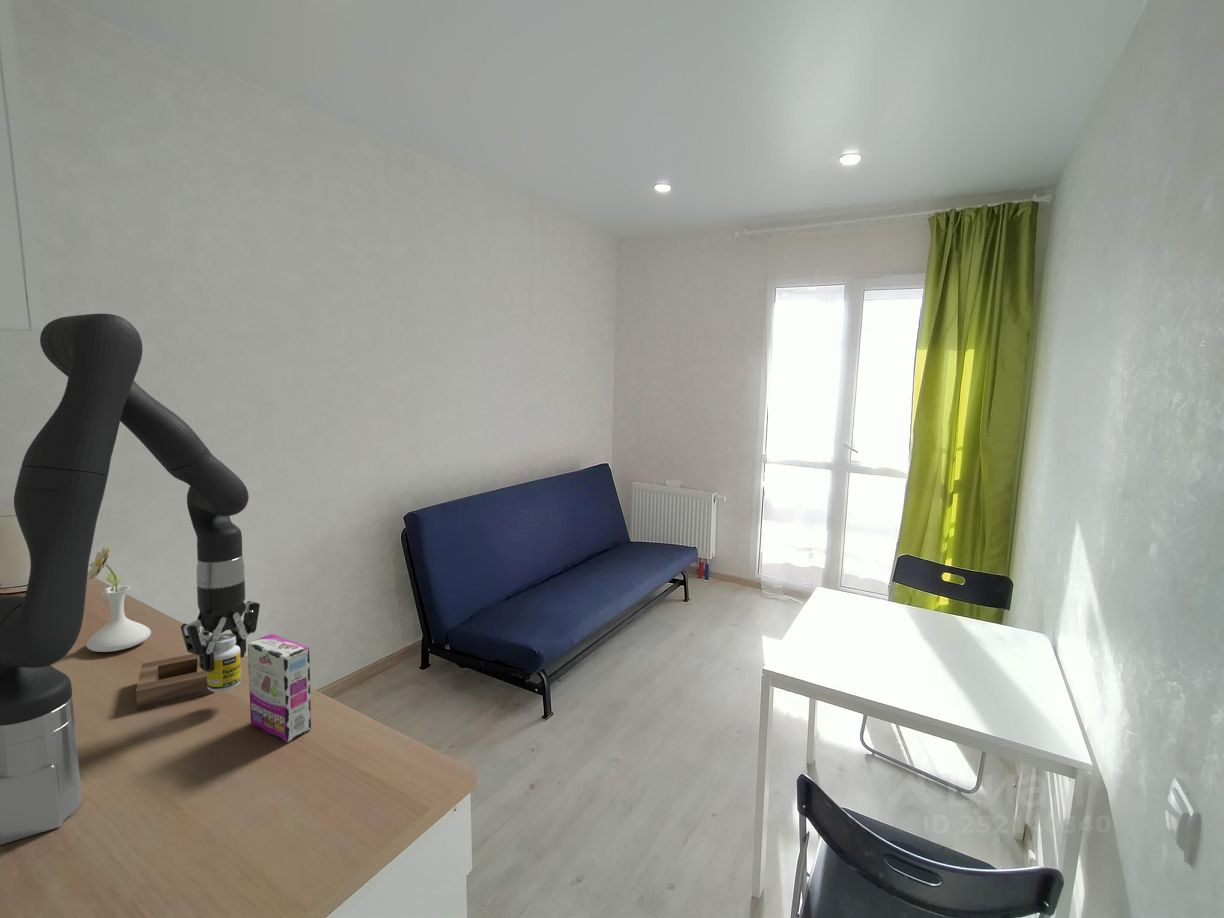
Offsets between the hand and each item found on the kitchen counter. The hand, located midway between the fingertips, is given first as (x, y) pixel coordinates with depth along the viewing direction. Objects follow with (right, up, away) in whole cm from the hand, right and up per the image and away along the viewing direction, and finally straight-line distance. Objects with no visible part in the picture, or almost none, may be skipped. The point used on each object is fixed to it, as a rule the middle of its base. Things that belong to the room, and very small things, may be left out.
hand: (224, 663), depth 109 cm
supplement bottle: (0, -5, 0) cm, 5 cm away
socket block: (-14, -7, +7) cm, 17 cm away
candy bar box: (+14, -11, -4) cm, 18 cm away
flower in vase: (-39, -4, +21) cm, 45 cm away
